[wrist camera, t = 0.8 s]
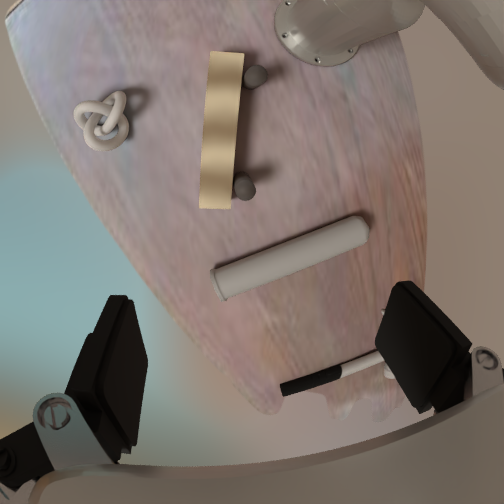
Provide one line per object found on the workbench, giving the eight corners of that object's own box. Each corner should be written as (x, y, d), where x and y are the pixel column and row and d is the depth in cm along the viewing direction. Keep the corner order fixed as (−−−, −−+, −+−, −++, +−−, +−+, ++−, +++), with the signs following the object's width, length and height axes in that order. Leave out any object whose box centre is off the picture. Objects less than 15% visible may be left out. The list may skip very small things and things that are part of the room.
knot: (146, 135, 35) (135, 138, 30) (96, 158, 35) (80, 165, 30) (129, 86, 31) (116, 82, 26) (80, 111, 31) (61, 112, 26)
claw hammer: (292, 417, 61) (406, 375, 59) (267, 367, 51) (412, 314, 49) (288, 400, 66) (397, 360, 64) (264, 347, 56) (400, 298, 54)
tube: (368, 210, 40) (207, 273, 41) (379, 244, 40) (222, 307, 41) (355, 210, 45) (212, 266, 46) (365, 240, 46) (224, 296, 47)
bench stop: (210, 57, 31) (210, 47, 26) (261, 62, 32) (269, 52, 27) (200, 199, 40) (198, 213, 34) (247, 201, 41) (253, 215, 35)
